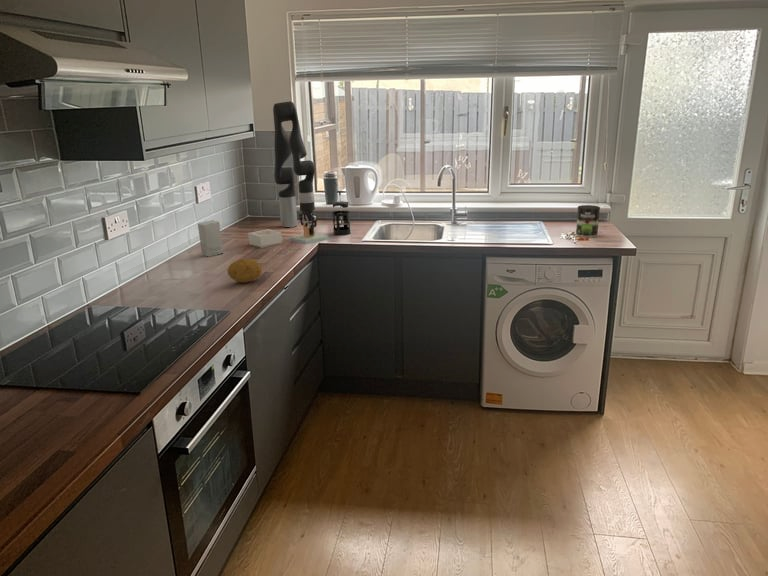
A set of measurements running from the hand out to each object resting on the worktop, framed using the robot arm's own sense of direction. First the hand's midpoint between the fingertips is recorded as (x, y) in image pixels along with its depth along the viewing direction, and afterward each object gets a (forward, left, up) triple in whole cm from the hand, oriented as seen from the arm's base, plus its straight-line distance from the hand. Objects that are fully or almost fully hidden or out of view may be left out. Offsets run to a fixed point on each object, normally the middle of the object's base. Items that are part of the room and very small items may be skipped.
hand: (309, 234), depth 295 cm
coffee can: (+99, +98, -3) cm, 139 cm away
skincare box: (-9, -49, -3) cm, 50 cm away
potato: (+44, -60, -3) cm, 74 cm away
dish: (-8, -21, -3) cm, 23 cm away
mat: (0, 0, -3) cm, 3 cm away
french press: (+3, +19, -3) cm, 19 cm away
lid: (0, 0, -2) cm, 2 cm away
